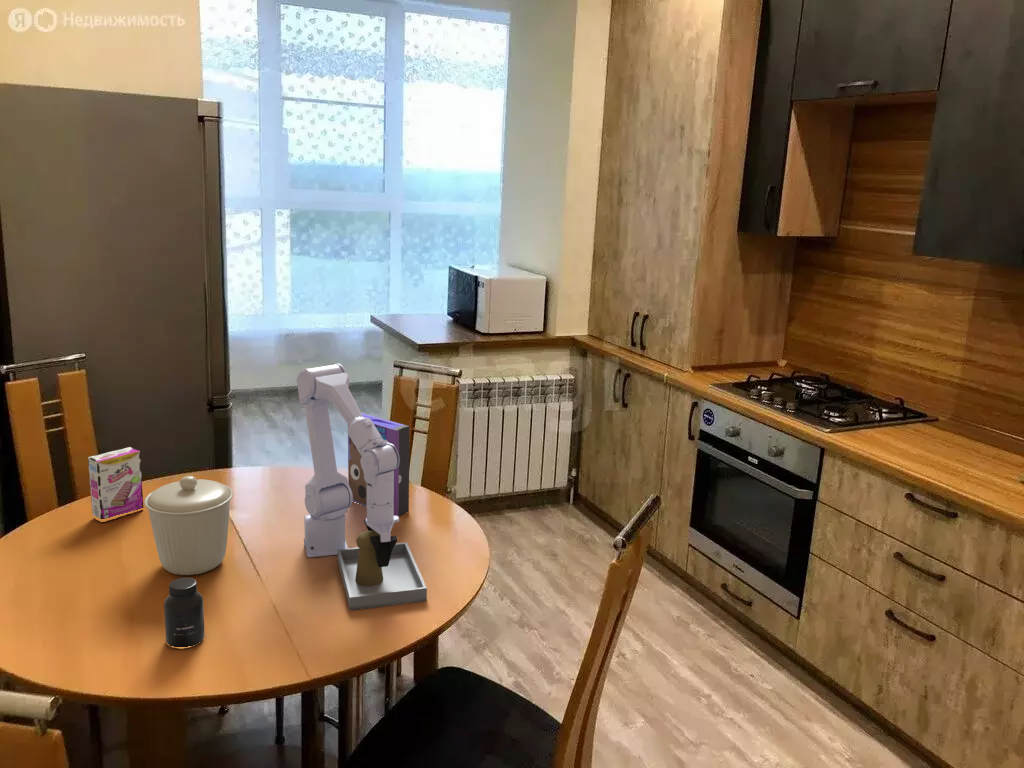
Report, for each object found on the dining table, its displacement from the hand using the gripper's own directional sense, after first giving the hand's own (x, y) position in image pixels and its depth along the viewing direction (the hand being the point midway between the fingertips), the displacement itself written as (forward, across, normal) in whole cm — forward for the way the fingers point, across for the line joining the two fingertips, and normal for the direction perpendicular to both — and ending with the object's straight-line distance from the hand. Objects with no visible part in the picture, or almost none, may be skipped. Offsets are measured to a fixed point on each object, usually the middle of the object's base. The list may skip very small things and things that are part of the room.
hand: (380, 557), depth 177 cm
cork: (+5, 0, +2) cm, 6 cm away
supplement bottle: (+6, -14, +39) cm, 42 cm away
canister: (+6, +17, +39) cm, 43 cm away
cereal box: (+6, +40, -6) cm, 41 cm away
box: (+5, 0, 0) cm, 5 cm away
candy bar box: (+6, +49, +58) cm, 76 cm away
